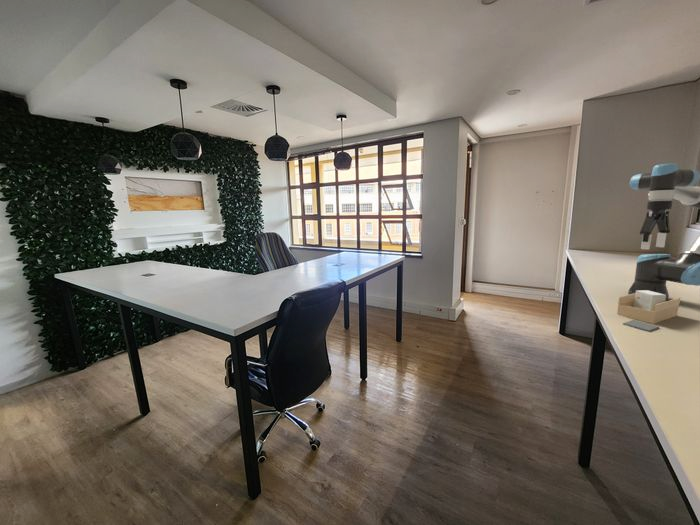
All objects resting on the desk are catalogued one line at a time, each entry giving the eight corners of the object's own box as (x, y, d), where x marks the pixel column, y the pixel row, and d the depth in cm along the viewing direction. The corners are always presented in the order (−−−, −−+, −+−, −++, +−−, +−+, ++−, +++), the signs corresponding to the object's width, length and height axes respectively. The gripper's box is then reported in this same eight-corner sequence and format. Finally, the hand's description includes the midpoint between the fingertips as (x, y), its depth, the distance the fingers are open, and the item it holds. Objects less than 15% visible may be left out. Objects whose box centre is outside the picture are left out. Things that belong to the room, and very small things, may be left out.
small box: (663, 318, 124) (667, 294, 122) (649, 318, 124) (653, 295, 122) (644, 312, 132) (648, 289, 130) (632, 312, 132) (635, 290, 130)
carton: (640, 307, 138) (643, 291, 136) (677, 315, 127) (680, 297, 125) (616, 314, 130) (619, 297, 128) (653, 324, 118) (656, 304, 117)
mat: (633, 321, 122) (633, 320, 122) (659, 328, 114) (659, 326, 114) (622, 324, 119) (622, 323, 118) (648, 331, 111) (649, 330, 111)
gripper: (662, 200, 137) (655, 245, 140) (634, 201, 127) (627, 249, 130) (685, 199, 130) (677, 247, 133) (657, 200, 120) (649, 250, 123)
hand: (652, 248), depth 132 cm, fingers open, 13 cm apart
